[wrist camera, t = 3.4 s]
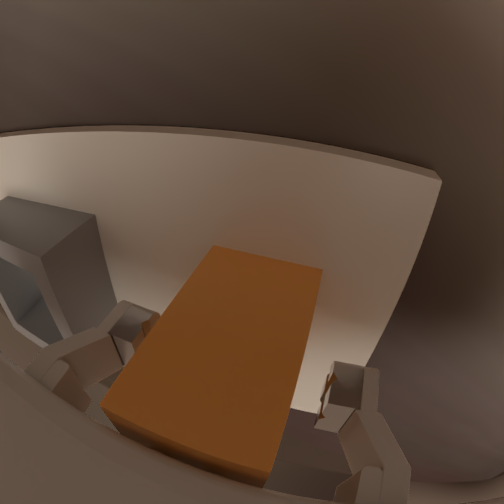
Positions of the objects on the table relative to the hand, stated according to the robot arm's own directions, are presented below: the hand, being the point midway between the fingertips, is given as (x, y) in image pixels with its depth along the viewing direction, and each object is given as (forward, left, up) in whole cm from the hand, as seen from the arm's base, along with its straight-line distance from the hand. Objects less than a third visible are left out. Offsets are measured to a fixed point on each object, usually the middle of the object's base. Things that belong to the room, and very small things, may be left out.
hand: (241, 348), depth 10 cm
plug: (0, 0, -3) cm, 3 cm away
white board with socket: (+1, -7, -4) cm, 8 cm away
